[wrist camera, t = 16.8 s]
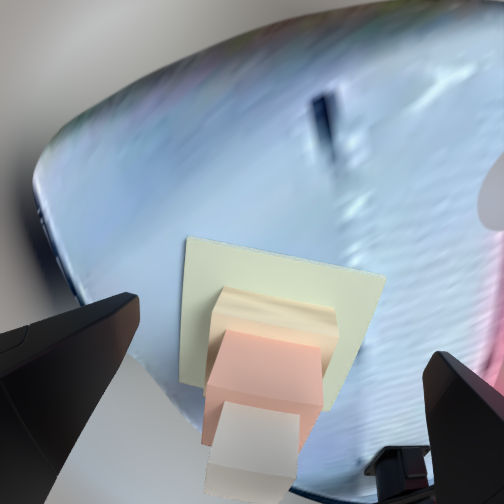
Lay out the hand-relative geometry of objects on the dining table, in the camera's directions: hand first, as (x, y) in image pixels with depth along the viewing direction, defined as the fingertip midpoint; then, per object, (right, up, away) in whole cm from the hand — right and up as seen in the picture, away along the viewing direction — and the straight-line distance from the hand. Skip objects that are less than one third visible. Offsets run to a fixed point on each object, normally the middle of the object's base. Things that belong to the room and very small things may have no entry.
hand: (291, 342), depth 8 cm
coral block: (0, -6, +12) cm, 13 cm away
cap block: (-1, -7, +7) cm, 10 cm away
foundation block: (0, -4, +15) cm, 16 cm away
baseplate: (0, -4, +16) cm, 16 cm away
